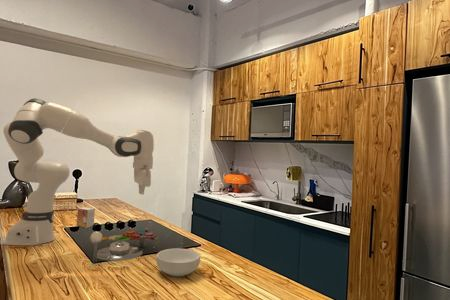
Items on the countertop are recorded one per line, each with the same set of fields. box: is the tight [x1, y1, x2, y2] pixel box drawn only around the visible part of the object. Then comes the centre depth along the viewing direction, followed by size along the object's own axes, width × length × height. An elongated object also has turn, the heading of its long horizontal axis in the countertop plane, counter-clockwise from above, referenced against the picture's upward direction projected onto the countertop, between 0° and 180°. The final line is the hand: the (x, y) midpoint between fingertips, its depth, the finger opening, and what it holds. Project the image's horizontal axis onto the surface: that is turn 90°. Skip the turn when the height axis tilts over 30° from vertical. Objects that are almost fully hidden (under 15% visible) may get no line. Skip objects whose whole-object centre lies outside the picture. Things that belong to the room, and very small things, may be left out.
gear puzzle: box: [101, 227, 159, 242], centre depth 164 cm, size 31×16×4 cm, turn 130°
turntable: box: [97, 236, 146, 262], centre depth 139 cm, size 23×20×6 cm
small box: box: [76, 206, 96, 229], centre depth 186 cm, size 8×6×10 cm
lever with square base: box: [89, 231, 103, 264], centre depth 125 cm, size 4×5×14 cm
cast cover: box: [109, 240, 130, 255], centre depth 138 cm, size 8×8×5 cm
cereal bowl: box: [156, 247, 201, 277], centre depth 123 cm, size 17×17×7 cm
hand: (141, 193), depth 149 cm, fingers closed
